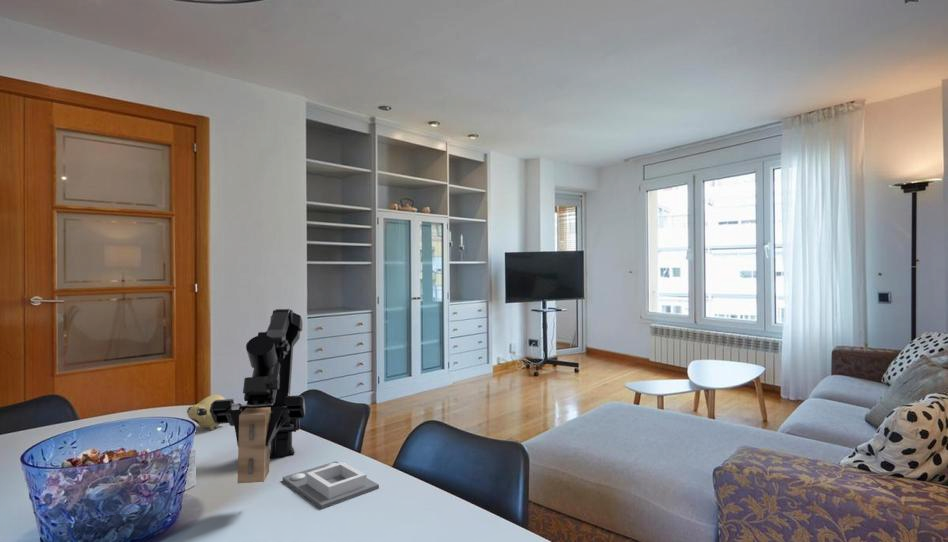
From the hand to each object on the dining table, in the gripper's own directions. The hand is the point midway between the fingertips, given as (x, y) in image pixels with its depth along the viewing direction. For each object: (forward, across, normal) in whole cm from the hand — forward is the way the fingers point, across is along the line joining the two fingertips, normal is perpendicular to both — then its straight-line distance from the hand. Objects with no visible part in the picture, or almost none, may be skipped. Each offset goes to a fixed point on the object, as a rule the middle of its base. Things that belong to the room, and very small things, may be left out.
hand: (253, 445), depth 97 cm
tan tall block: (+4, 0, +6) cm, 7 cm away
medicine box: (-2, -20, +21) cm, 29 cm away
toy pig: (-35, -27, +55) cm, 70 cm away
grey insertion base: (+3, +15, +16) cm, 22 cm away
